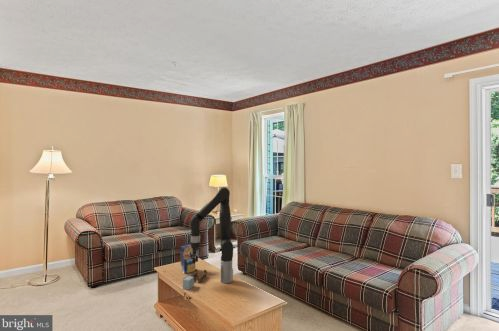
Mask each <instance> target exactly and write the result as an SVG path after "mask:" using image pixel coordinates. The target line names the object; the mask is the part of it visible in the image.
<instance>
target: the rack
mask: <svg viewBox="0 0 499 331" xmlns="http://www.w3.org/2000/svg"><path fill="white" fill-rule="evenodd" d="M190 275H191V276H192V277H194V278H195V277H196V276H198V268H195V271H193V273H192V274H190ZM206 278H207V269H204V270H203V273H202V274H201V275H200V276H198V277H197V284H201V282H203V281H204V280H205V279H206Z"/></svg>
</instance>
